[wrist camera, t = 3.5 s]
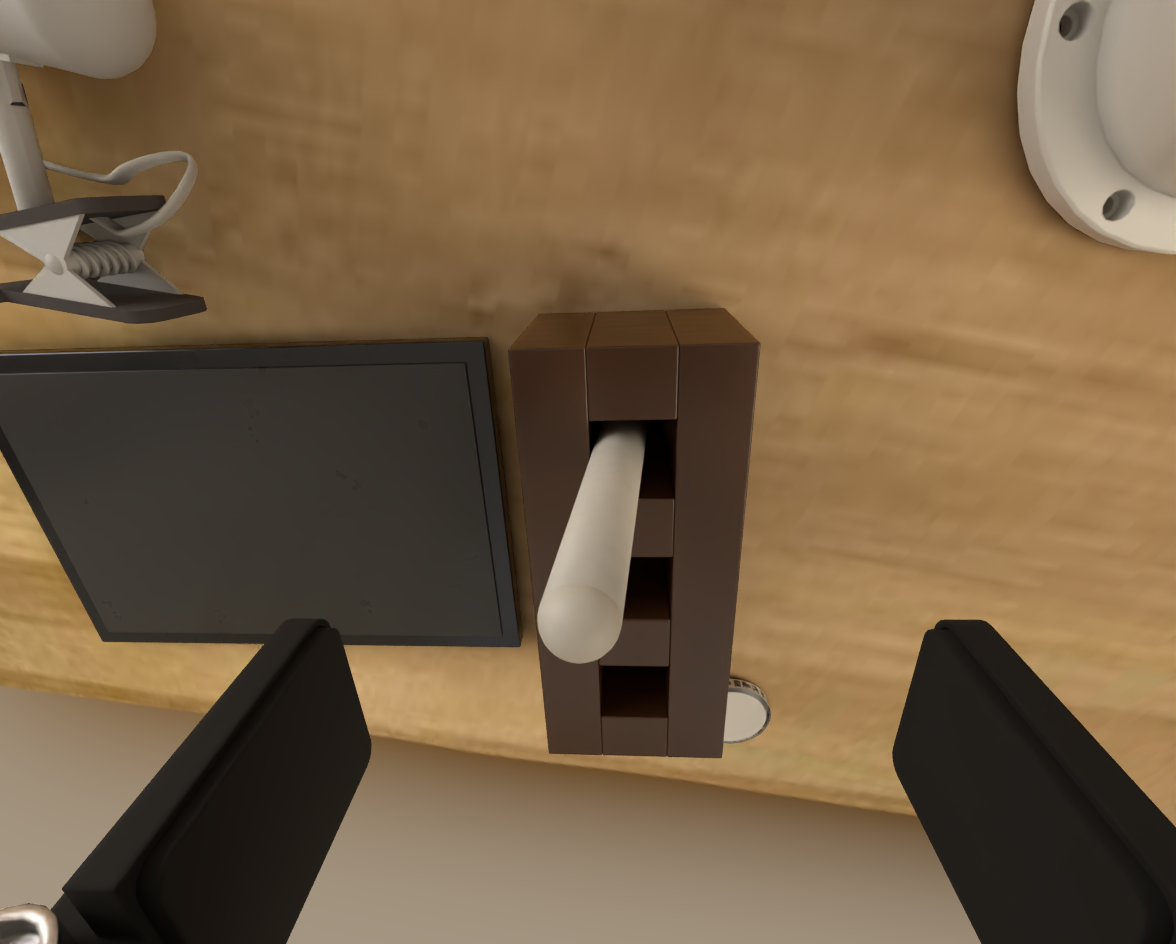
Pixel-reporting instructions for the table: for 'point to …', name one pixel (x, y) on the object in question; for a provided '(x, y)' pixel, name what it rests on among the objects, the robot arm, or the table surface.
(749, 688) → the white flat rimmed disc
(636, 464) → the stylus
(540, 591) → the pen rack
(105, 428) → the tablet
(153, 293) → the clip-on lamp
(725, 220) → the table surface
